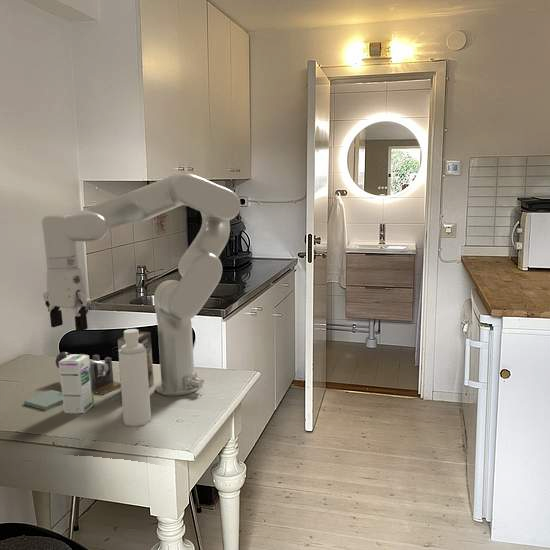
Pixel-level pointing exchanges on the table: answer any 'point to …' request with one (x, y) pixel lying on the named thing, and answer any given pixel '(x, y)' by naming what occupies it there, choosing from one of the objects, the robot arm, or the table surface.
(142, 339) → the coffee box
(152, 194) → the robot arm
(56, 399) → the grey-green square pad
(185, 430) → the table surface
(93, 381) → the bracket
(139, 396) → the spray bottle
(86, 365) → the syrup box
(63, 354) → the shaft
